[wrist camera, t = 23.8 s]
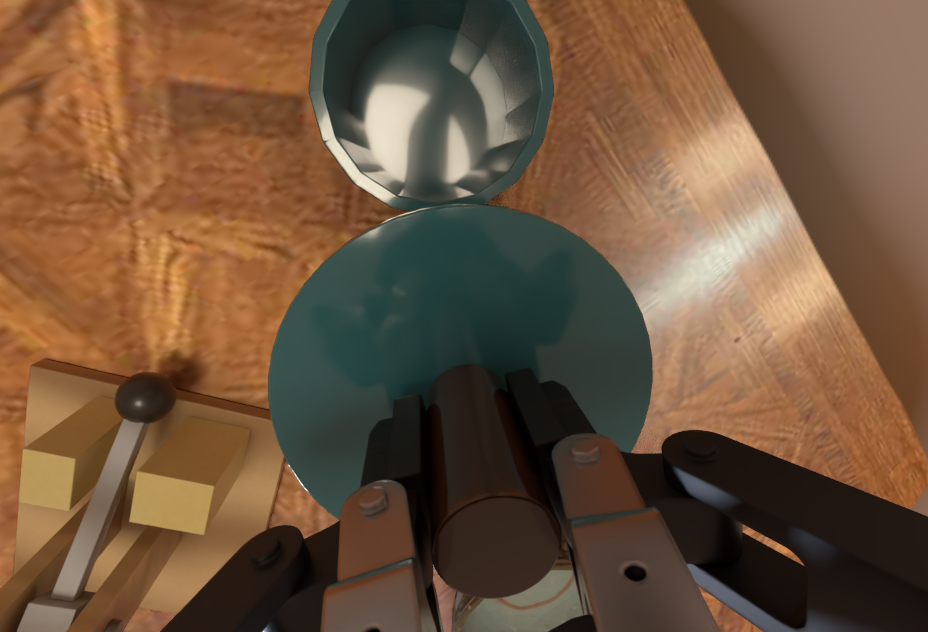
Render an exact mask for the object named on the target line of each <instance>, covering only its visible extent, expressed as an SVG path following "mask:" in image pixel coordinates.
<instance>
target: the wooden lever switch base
mask: <svg viewBox="0 0 928 632" xmlns="http://www.w3.org/2000/svg"><path fill="white" fill-rule="evenodd" d="M126 379H127V378H126V377H121V376H117V375H113V374H108V373H104V372H100V371H95V370H91V369H87V368H82V367H78V366H74V365H69V364H65V363H61V362H56V361H52V360H48V359H43V360H41V361H39V362H37V363H35V364H33V365H31V366H30V375H29V387H28V399H27V411H26V423H25V436H24V448H25V447H26V446H28V445H29V444H30V443H32V442H33V441H35V440H36V439H38V438H39V437H40V436H42V435H43V434H45V433H46V432H47V431H49V430H50V429H52V428H53V427H55V426H56V425H57V424H59V423H60V422H62V421H63V420H64V419H66V418H67V417H69V416H70V415H72V414H73V413H74V412H76V411H77V410H79V409H80V408H82V407H83V406H84V405H86V404H87V403H89V402H90V401H91V400H93V399H94V398H96V397H97V396H102V397H106V398H111V399H114V398H115V394H116V391H117V389H118V387H119V386H120V385H121V384H122V383H123V382H124V381H125V380H126ZM188 416H192V417H196V418H201V419H205V420H210V421H214V422H219V423H223V424H228V425H232V426H237V427H242V428H246V429H250V430H251V432H250V436H249V441H248V445H247V449H246V454H245V458H244V463H243V467H242V471H241V473H240V475H239V476H238V478H237V480H236V482H235V483H234V485H233V487H232V488H231V490H230V492H229V493H228V495H227V497H226V499H225V500H224V502H223V504H222V505H221V507H220V509H219V510H218V512H217V514H216V516H215V517H214V519H213V521H212V522H211V524H210V526H209V528H208V529H207V531H206V533H205V534H204V535H200V534H194V533H189V532H183V531H178V530H172V529H166V528H161V527H155V526H150V525H144V524H139V523H133V522H129V520H130V513H131V507H132V501H133V494H134V488H135V482H136V475H137V471H138V470H139V469H140V468H141V467H142V466H143V464H144V463H145V462H146V461H147V460H148V459H149V458H150V457H151V456H152V455H153V454H154V453H155V452H156V451H157V449H158V448H159V447H160V446H161V445H162V444H163V443H164V442H165V441H166V440H167V439H168V438H169V437H170V436H171V434H172V433H173V432H174V431H175V430H176V429H177V428H178V427H179V426H180V425H181V424H182V423H183V422H184V421H185V420H186V418H187V417H188ZM284 463H285V457H284V455H283V453H282V451H281V449H280V447H279V444H278V441H277V438H276V435H275V431H274V428H273V425H272V420H271V414H270V411H269V410H265V409H260V408H256V407H252V406H247V405H243V404H239V403H234V402H230V401H226V400H221V399H217V398H213V397H208V396H204V395H200V394H195V393H191V392H187V391H182V390H178V389H176V402H175V405H174V407H173V409H172V410H171V412H170V413H169V414H168V415H167V416H165V417H164V418H163V419H161V420H159V421H157V422H154V423H150V425H149V427H148V430H147V433H146V435H145V438H144V440H143V443H142V445H141V448H140V450H139V453H138V455H137V458H136V460H135V463H134V466H133V468H132V471H131V473H130V476H129V478H128V481H127V483H126V486H125V488H124V491H123V493H122V496H121V498H120V501H119V504H118V506H117V509H116V511H115V514H114V516H113V519H112V521H111V524H110V526H109V529H108V531H107V534H106V537H105V539H104V542H103V544H102V547H101V549H100V552H99V554H98V557H97V559H96V562H95V564H94V567H93V569H92V572H91V575H90V577H89V580H88V582H87V585H86V587H85V590H84V591H89V592H96V593H95V595H94V596H93V597H92V599H91V600H90V601H89V602H88V604H87V605H86V606H85V608H84V609H83V610H82V612H81V613H80V614H79V616H78V617H77V618H76V620H75V621H74V622H73V623H72V625H71V626H70V627H69V629H68V630H67V631H66V632H123V630H124V629H125V627H126V626H127V624H128V623H129V621H130V619H131V618H132V616H133V615H134V613H135V612H136V610H137V609H138V608H141V609H148V610H154V611H161V612H168V613H174V614H178V613H179V612H180V611H181V610H182V608H183V607H184V606H185V605H186V604H187V603H188V602H189V601H190V600H191V599H192V598H193V597H194V596H195V595H196V594H197V593H198V592H199V591H200V590H201V589H202V588H203V587H204V585H205V584H206V583H207V582H208V581H209V580H210V579H211V578H212V577H213V576H214V575H215V574H216V573H217V572H218V571H219V570H220V569H221V568H222V567H223V566H224V565H225V563H226V562H227V561H228V560H229V559H230V558H231V557H232V556H233V555H234V554H235V553H236V552H237V551H238V550H239V549H240V548H241V547H242V546H243V545H244V544H245V543H246V542H247V541H249V540H250V539H251V538H253V537H254V536H256V535H257V534H259V533H261V532H263V531H265V530H268V526H269V522H270V518H271V514H272V510H273V506H274V503H275V499H276V495H277V491H278V487H279V483H280V479H281V475H282V471H283V467H284ZM96 485H97V484H96ZM96 485H95V486H94V487H93V488H92V489H91V490H90V491H89V492H88V493H87V494H86V495H85V496H84V497H83V498H82V499H81V500H80V501H79V502H78V503H77V504H76V505H75V506H74V507H73V508H72V509H71V510H70V511H66V510H60V509H55V508H49V507H43V506H38V505H32V504H27V503H21V502H19V508H18V520H17V533H16V545H15V557H14V569H13V577H12V578H11V579H10V580H9V581H8V582H7V583H6V584H5V585H4V586H3V587H2V588H1V589H0V632H17V629H18V627H19V624H20V622H21V620H22V617H23V615H24V613H25V610H26V608H27V605H28V603H29V602H31V601H33V600H34V599H36V598H38V597H40V596H41V595H43V594H45V593H46V592H48V591H50V590H52V589H53V588H54V587H55V585H56V582H57V580H58V577H59V575H60V572H61V570H62V568H63V565H64V563H65V560H66V558H67V555H68V553H69V550H70V548H71V546H72V543H73V541H74V538H75V536H76V533H77V531H78V529H79V526H80V524H81V521H82V519H83V516H84V514H85V511H86V509H87V507H88V504H89V502H90V499H91V497H92V494H93V492H94V490H95V487H96Z"/></svg>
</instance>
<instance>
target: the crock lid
mask: <svg viewBox="0 0 928 632" xmlns="http://www.w3.org/2000/svg"><path fill="white" fill-rule="evenodd" d="M525 368H531V369H532V371H533V373H534V375H535V377H536V378H537V380H538V382H539V383H543V382H547V381H551V380H554V381H556V382H558V383H560V384H562V385H564V386H566V387H567V389H568V390H569V392H570V393H571V395H572V396H573V399H575V401H576V402H577V404H578V406H579V407H580V408H581V410H582V411H583V413H584V414H585V416H586V417H587V419H588V420H589V422H590V424H591V425H592V427H593V428H594V430H595V431H596V433H597V434H599V435H603V436H605V437H607V438H609V439H611V440H612V441H614V442H615V443H616V445H617V446H618V448H619V450H620V451H622V452H627V453H631V451H632V450H633V448H634V446H635V444H636V442H637V440H638V437H639V435H640V433H641V430H642V428H643V425H644V422H645V419H646V415H647V411H648V407H649V404H650V397H651V389H652V382H653V371H652V353H651V347H650V340H649V335H648V331H647V328H646V325H645V322H644V319H643V315H642V313H641V311H640V308H639V306H638V304H637V302H636V300H635V298H634V296H633V294H632V292H631V291H630V289H629V288H628V286H627V285H626V283H625V282H624V280H623V279H622V277H621V276H620V274H619V273H618V272H617V271H616V270H615V269H614V267H613V266H612V265H611V264H610V263H609V262H608V261H607V260H606V259H605V258H604V257H603V256H602V254H600V253H599V252H598V251H597V250H595V249H594V248H593V247H592V246H590V245H589V244H588V243H587V242H585V241H584V240H583V239H582V238H580V237H578V236H577V235H575V234H573V233H571V232H570V231H568V230H566V229H565V228H563V227H561V226H560V225H558V224H555V223H553V222H550V221H548V220H546V219H543V218H541V217H538V216H536V215H534V214H531V213H527V212H523V211H520V210H516V209H512V208H508V207H503V206H495V205H486V204H447V205H441V206H434V207H428V208H422V209H418V210H415V211H412V212H408V213H405V214H401V215H398V216H395V217H393V218H391V219H388V220H386V221H384V222H382V223H379V224H377V225H375V226H373V227H370V228H369V229H367V230H366V231H364V232H362V233H361V234H359V235H358V236H356V237H354V238H353V239H351V240H350V241H348V242H346V243H345V244H344V245H343V246H342V247H340V248H339V249H338V250H337V251H336V252H334V253H333V254H332V255H331V256H330V257H328V258H327V259H326V260H325V261H324V262H323V263H322V264H321V265H320V267H319V268H318V269H317V270H316V271H315V272H314V273H313V274H312V275H311V276H310V278H309V279H308V280H307V281H306V282H305V283H304V285H303V286H302V288H301V289H300V291H299V292H298V294H297V295H296V297H295V298H294V300H293V301H292V303H291V304H290V306H289V308H288V310H287V312H286V314H285V316H284V319H283V321H282V323H281V325H280V327H279V330H278V333H277V336H276V339H275V343H274V346H273V349H272V353H271V360H270V367H269V374H268V401H269V408H270V414H271V420H272V425H273V428H274V431H275V435H276V438H277V441H278V444H279V447H280V449H281V451H282V453H283V455H284V457H285V459H286V461H287V463H288V465H289V467H290V468H291V470H292V471H293V473H294V474H295V476H296V477H297V479H298V480H299V482H300V483H301V485H302V486H303V487H304V488H305V489H306V490H307V491H308V493H309V494H310V495H311V496H312V497H313V498H314V499H315V500H316V501H317V502H318V503H319V504H320V505H321V506H322V507H324V508H325V509H326V510H327V511H328V512H329V513H330V514H332V515H333V516H334V517H336V518H337V519H339V520H340V516H341V509H342V506H343V504H344V503H345V501H346V500H347V499H348V497H349V496H350V495H351V494H352V493H354V492H355V491H356V490H358V489H359V488H360V484H361V479H362V473H363V467H364V462H365V457H366V450H367V447H368V439H369V434H370V432H371V430H372V429H373V428H374V426H375V425H376V424H377V423H378V421H379V420H383V419H388V418H392V417H393V407H394V399H396V398H400V397H404V396H409V395H413V394H417V393H421V395H422V397H423V401H424V404H425V408H426V412H427V441H428V471H429V500H430V505H429V506H430V536H431V557H432V562H433V564H434V567H435V569H436V571H437V572H438V574H439V576H440V577H441V578H442V579H443V581H444V582H445V583H446V584H448V585H449V586H450V587H451V588H453V589H454V590H456V591H458V592H460V593H462V594H465V595H468V596H471V597H476V598H483V599H496V598H504V597H509V596H512V595H516V594H519V593H521V592H524V591H526V590H527V589H529V588H531V587H533V586H534V585H536V584H537V583H539V582H540V581H541V580H542V579H543V578H544V577H545V576H546V575H547V574H548V573H549V572H550V571H551V569H552V568H553V567H554V565H555V563H556V561H557V559H558V557H559V554H560V550H561V545H562V532H561V528H560V524H559V521H558V519H557V516H556V514H555V511H554V509H553V506H552V504H551V501H550V498H549V496H548V493H547V491H546V488H545V486H544V483H543V481H542V479H541V477H540V474H539V471H538V469H537V466H536V464H535V461H534V459H533V456H532V453H531V451H530V448H529V446H528V443H527V441H526V438H525V435H524V433H523V430H522V428H521V425H520V423H519V420H518V417H517V415H516V412H515V410H514V407H513V405H512V402H511V400H510V397H509V394H508V390H507V385H506V380H505V373H508V372H512V371H517V370H521V369H525Z"/></svg>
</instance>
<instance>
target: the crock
mask: <svg viewBox="0 0 928 632" xmlns="http://www.w3.org/2000/svg"><path fill="white" fill-rule="evenodd" d="M546 40H547V38H546V36H545V34H544V32H543V31H542V29H541V27H540V25H539V23H538V21H537V19H536V18H535V16H534V14H533V12H532V10H531V8H530V6H529V5H528V3H527V1H526V0H332V1H331V3H330V5H329V7H328V9H327V11H326V13H325V15H324V17H323V19H322V21H321V23H320V25H319V27H318V29H317V31H316V32H315V34H314V38H313V45H312V57H311V68H310V80H309V95H310V99H311V102H312V106H313V109H314V113H315V116H316V120H317V123H318V127H319V130H320V134H321V137H322V141H323V142H324V144H325V146H326V147H327V148H328V150H329V151H330V152H331V154H332V155H333V157H334V158H335V159H336V161H337V162H338V163H339V165H340V166H341V167H342V169H343V170H344V171H345V173H346V174H347V175H348V177H349V178H350V180H351V181H352V182H354V184H355V185H357V186H358V187H360V188H362V189H363V190H365V191H366V192H368V193H369V194H371V195H373V196H374V197H376V198H377V199H379V200H380V201H382V202H384V203H385V204H387V205H388V206H390V207H391V208H394V209H398V210H404V211H409V212H412V211H415V210H418V209H422V208H428V207H434V206H441V205H447V204H486V203H487V202H489V201H490V200H492V199H493V198H494V197H496V196H497V195H499V194H500V193H501V192H503V191H504V190H506V189H507V188H509V187H510V186H511V185H513V184H514V183H516V182H517V180H519V178H520V177H521V175H522V174H523V172H524V171H525V169H526V168H527V166H528V164H529V163H530V161H531V160H532V158H533V157H534V155H535V154H536V152H537V151H538V149H539V148H540V146H541V144H542V143H543V140H544V137H545V133H546V128H547V124H548V119H549V115H550V110H551V106H552V101H553V97H554V85H553V77H552V70H551V63H550V55H549V48H548V42H547V41H546Z"/></svg>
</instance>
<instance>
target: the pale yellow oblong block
mask: <svg viewBox="0 0 928 632" xmlns="http://www.w3.org/2000/svg"><path fill="white" fill-rule="evenodd" d="M250 432H251V430H250V429H246V428H242V427H237V426H232V425H228V424H223V423H219V422H214V421H210V420H205V419H201V418H196V417H192V416H188V417H187V418H186V420H185V421H184V422H183V423H182V424H181V425H180V426H179V427H178V428H177V429H176V430H175V431H174V432H173V433H172V434H171V436H170V437H169V438H168V439H167V440H166V441H165V442H164V443H163V444H162V445H161V446H160V447H159V448H158V449H157V451H156V452H155V453H154V454H153V455H152V456H151V457H150V458H149V459H148V460H147V461H146V462H145V463H144V464H143V466H142V467H141V468H140V469H139V470H138V471H137V475H136V482H135V488H134V494H133V501H132V507H131V513H130V520H129V522H133V523H139V524H144V525H150V526H155V527H161V528H166V529H172V530H178V531H183V532H189V533H194V534H200V535H204V534H205V533H206V531H207V529H208V528H209V526H210V524H211V522H212V521H213V519H214V517H215V516H216V514H217V512H218V510H219V509H220V507H221V505H222V504H223V502H224V500H225V499H226V497H227V495H228V493H229V492H230V490H231V488H232V487H233V485H234V483H235V482H236V480H237V478H238V476H239V475H240V473H241V471H242V467H243V463H244V458H245V454H246V449H247V445H248V441H249V436H250Z"/></svg>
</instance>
